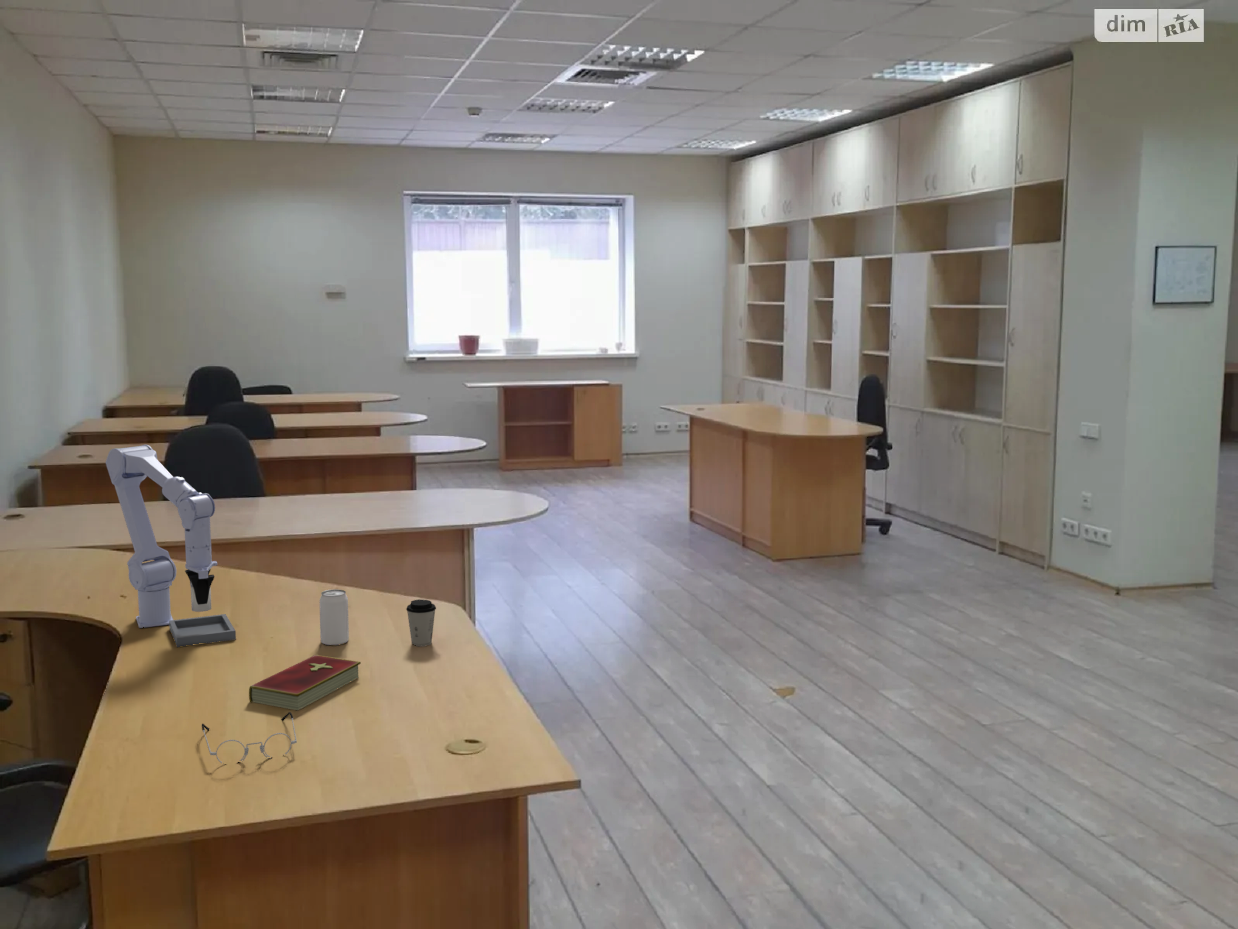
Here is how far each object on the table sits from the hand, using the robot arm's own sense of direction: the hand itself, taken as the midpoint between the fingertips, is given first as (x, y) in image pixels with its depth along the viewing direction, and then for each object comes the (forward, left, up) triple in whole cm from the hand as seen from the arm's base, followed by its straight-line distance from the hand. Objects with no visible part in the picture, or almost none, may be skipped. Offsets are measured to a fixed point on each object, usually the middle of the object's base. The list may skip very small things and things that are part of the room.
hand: (200, 601), depth 258 cm
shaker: (0, 0, -2) cm, 2 cm away
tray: (0, 0, -8) cm, 8 cm away
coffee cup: (+29, +45, -8) cm, 54 cm away
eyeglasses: (+70, -1, -9) cm, 71 cm away
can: (+19, +27, -8) cm, 34 cm away
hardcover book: (+47, +14, -9) cm, 50 cm away
